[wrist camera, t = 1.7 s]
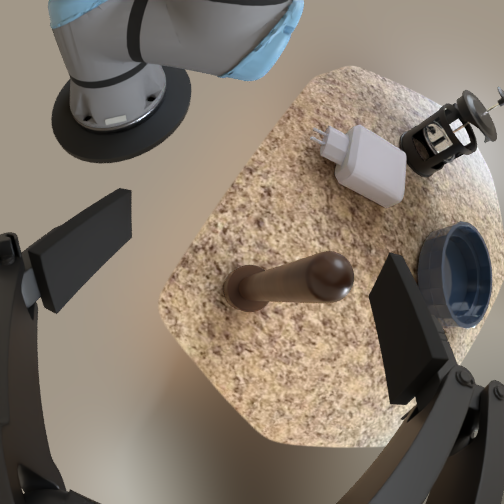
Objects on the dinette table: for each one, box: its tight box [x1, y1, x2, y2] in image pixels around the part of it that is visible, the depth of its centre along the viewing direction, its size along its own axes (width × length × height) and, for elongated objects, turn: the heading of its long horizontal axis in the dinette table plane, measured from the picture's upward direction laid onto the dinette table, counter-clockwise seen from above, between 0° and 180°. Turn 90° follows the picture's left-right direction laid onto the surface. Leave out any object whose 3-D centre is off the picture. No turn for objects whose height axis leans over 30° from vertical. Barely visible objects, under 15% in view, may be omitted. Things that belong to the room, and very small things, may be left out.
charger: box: [310, 125, 406, 208], centre depth 37 cm, size 5×9×15 cm
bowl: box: [418, 221, 492, 329], centre depth 39 cm, size 17×17×6 cm
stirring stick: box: [224, 251, 354, 312], centre depth 23 cm, size 5×5×21 cm
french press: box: [400, 87, 504, 177], centre depth 33 cm, size 12×9×23 cm
